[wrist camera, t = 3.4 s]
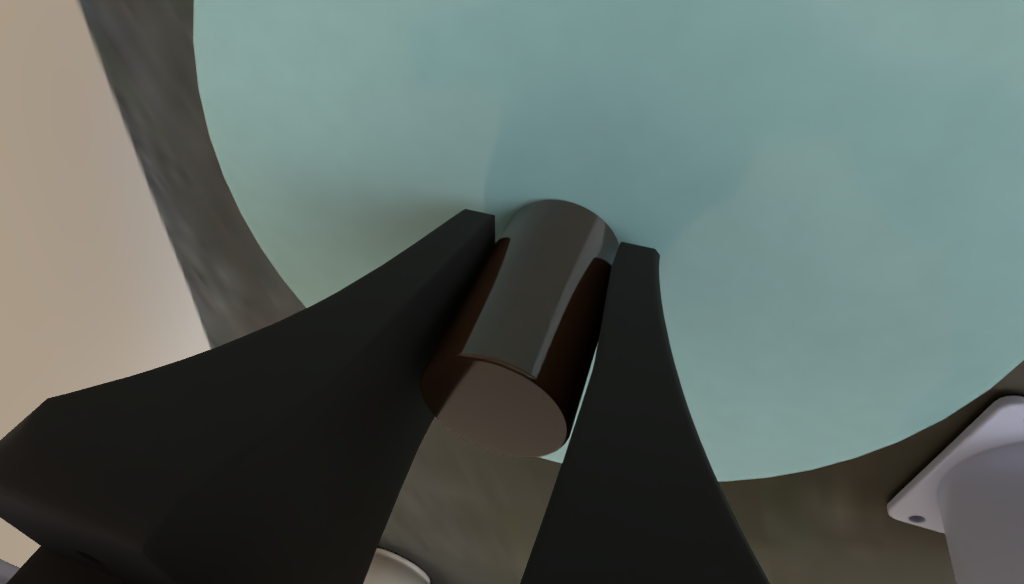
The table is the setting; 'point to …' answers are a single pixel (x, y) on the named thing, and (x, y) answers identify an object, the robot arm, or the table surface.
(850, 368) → the pan lid
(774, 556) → the table surface
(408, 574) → the lidded bowl
